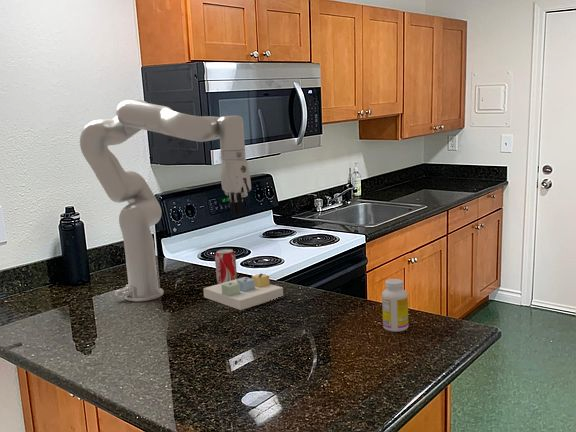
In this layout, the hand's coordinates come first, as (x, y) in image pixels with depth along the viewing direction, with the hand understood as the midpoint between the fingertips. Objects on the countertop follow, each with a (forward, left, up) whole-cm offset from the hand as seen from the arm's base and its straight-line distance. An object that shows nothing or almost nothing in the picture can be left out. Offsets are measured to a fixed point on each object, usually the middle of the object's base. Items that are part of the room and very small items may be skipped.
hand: (237, 214), depth 185 cm
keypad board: (0, 0, -27) cm, 27 cm away
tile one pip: (-6, -2, -25) cm, 26 cm away
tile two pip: (0, -2, -25) cm, 25 cm away
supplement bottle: (+10, -54, -27) cm, 61 cm away
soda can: (+5, +16, -27) cm, 32 cm away
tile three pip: (+6, -2, -25) cm, 26 cm away
